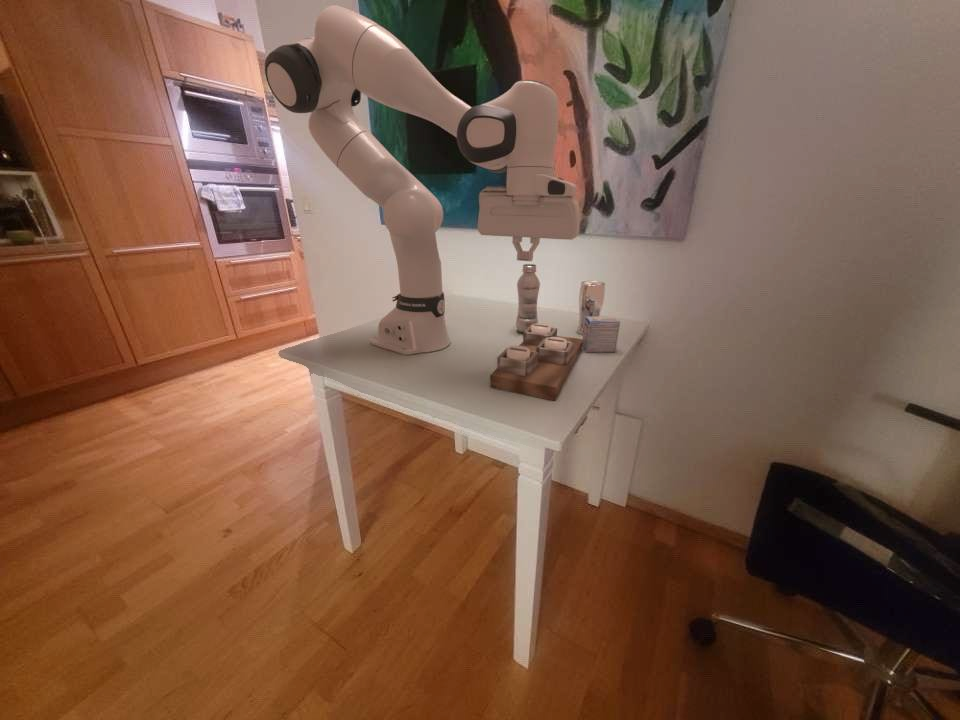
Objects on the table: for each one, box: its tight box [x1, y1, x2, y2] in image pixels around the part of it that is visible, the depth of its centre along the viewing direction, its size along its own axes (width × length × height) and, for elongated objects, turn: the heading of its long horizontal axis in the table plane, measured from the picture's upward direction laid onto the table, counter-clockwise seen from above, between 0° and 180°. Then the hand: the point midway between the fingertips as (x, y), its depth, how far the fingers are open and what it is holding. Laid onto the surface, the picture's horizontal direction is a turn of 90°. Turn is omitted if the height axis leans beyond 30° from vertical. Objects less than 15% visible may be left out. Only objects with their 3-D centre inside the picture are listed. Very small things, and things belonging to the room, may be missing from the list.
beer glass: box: [576, 280, 606, 336], centre depth 108 cm, size 7×7×15 cm
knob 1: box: [506, 345, 530, 361], centre depth 79 cm, size 5×5×4 cm
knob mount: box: [489, 325, 583, 402], centre depth 87 cm, size 14×30×6 cm, turn 156°
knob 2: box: [531, 322, 552, 335], centre depth 94 cm, size 5×5×4 cm
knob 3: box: [544, 337, 567, 351], centre depth 85 cm, size 5×5×4 cm
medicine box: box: [582, 315, 621, 353], centre depth 96 cm, size 8×4×9 cm, turn 92°
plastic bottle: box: [515, 263, 541, 334], centre depth 107 cm, size 6×7×20 cm
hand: (524, 260), depth 75 cm, fingers closed
